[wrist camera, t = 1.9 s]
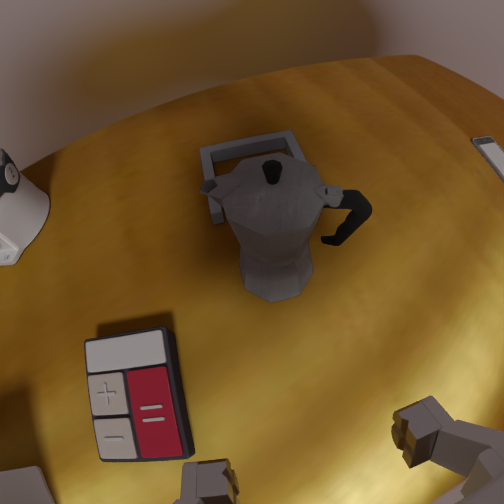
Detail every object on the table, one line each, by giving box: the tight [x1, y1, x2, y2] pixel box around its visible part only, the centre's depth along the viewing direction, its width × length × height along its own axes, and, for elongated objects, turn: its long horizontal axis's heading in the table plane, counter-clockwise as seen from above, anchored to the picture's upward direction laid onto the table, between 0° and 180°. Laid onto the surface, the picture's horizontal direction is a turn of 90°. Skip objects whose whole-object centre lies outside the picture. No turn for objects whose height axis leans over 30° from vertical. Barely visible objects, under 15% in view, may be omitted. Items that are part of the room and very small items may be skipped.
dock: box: [199, 130, 307, 224], centre depth 46 cm, size 15×14×2 cm
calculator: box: [84, 326, 195, 462], centre depth 31 cm, size 11×4×15 cm
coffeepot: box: [199, 152, 372, 303], centre depth 32 cm, size 15×9×18 cm, turn 80°
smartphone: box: [472, 136, 504, 182], centre depth 46 cm, size 7×1×15 cm
